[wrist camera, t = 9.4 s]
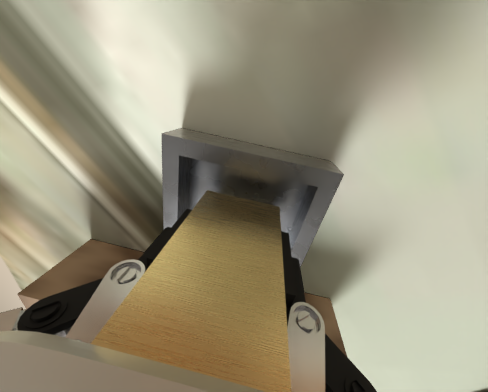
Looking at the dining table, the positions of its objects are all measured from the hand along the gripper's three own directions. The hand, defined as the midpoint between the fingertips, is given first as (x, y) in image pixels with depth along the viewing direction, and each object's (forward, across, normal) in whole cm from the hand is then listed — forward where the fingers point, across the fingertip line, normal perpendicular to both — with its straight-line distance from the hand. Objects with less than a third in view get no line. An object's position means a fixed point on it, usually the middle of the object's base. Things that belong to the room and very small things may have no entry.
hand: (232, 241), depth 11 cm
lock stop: (+1, 0, 0) cm, 1 cm away
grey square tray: (+4, 0, 0) cm, 4 cm away
